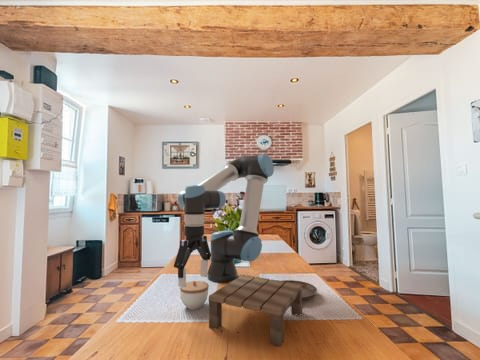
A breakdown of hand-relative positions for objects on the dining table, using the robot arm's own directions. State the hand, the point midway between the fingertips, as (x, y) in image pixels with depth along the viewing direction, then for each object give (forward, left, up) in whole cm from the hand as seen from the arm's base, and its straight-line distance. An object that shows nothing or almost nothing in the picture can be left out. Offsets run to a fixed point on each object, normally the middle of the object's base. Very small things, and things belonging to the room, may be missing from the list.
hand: (193, 281), depth 103 cm
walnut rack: (-1, +26, -9) cm, 28 cm away
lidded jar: (0, 0, -10) cm, 10 cm away
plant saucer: (-27, +30, -10) cm, 42 cm away
